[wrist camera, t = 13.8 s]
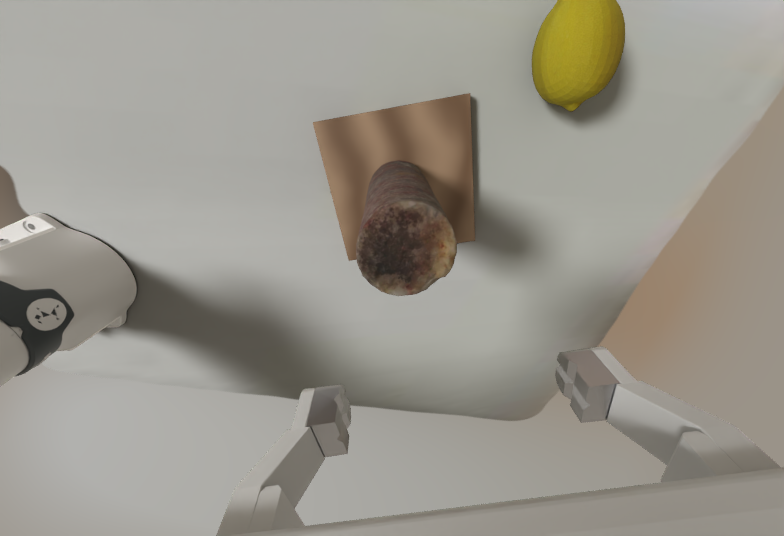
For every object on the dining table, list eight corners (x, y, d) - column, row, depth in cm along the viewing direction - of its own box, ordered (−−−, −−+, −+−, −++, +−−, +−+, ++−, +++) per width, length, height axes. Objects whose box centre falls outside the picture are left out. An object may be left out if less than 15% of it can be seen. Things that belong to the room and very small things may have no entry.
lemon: (581, 108, 36) (629, 108, 29) (515, 114, 36) (547, 116, 29) (603, -12, 31) (669, -47, 24) (526, -4, 31) (569, -36, 24)
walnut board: (349, 256, 44) (348, 260, 43) (315, 121, 36) (312, 122, 34) (472, 236, 43) (474, 240, 42) (466, 93, 35) (470, 93, 33)
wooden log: (358, 169, 37) (337, 227, 19) (414, 146, 36) (446, 186, 18) (381, 224, 40) (381, 316, 23) (433, 205, 39) (475, 285, 22)
